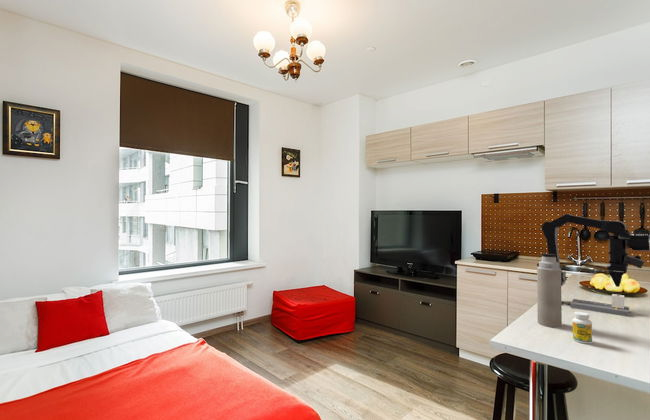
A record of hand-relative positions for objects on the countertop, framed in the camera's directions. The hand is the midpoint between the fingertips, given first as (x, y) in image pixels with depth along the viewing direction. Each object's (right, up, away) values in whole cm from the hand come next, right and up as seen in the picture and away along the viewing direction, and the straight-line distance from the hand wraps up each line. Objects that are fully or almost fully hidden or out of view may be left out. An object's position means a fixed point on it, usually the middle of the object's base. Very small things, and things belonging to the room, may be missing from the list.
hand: (618, 284), depth 147 cm
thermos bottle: (-40, -13, -14) cm, 44 cm away
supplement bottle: (-40, -13, -32) cm, 53 cm away
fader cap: (0, -10, 0) cm, 10 cm away
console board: (-5, -12, +5) cm, 14 cm away
